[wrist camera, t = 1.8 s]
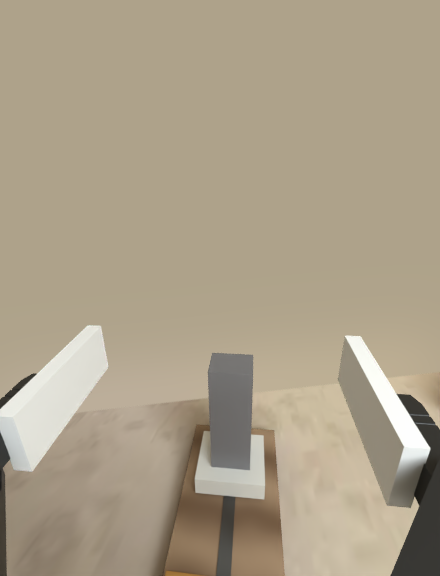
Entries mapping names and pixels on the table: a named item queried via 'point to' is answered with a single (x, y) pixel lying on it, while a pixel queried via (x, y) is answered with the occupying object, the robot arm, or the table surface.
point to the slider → (231, 433)
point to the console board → (227, 525)
